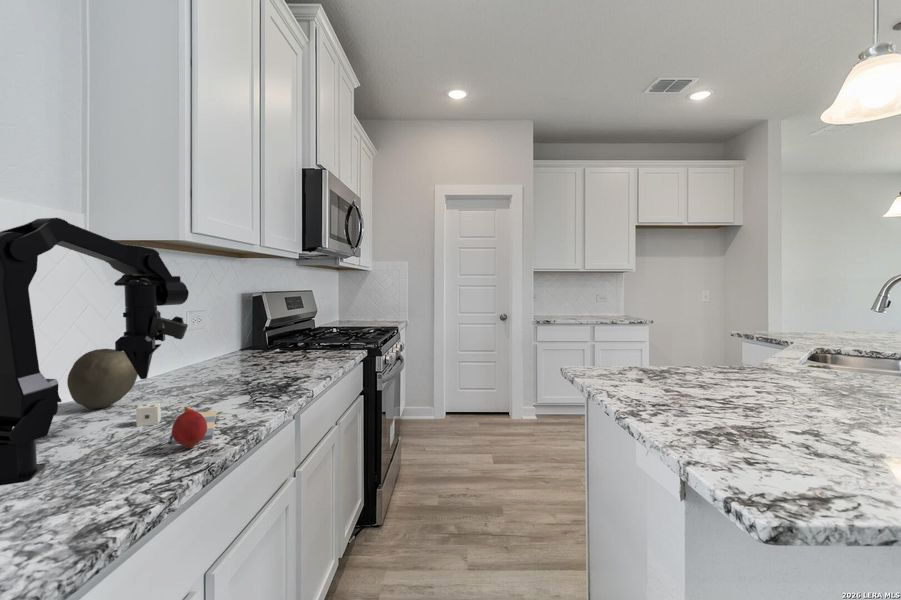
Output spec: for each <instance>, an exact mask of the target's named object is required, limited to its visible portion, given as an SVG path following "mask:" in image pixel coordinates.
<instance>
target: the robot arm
mask: <svg viewBox="0 0 901 600" xmlns="http://www.w3.org/2000/svg"><path fill="white" fill-rule="evenodd" d="M56 246H59V247H62V248H65V249H67V250H70V251H74V252H77V253H80V254H82V255H86V256H89V257H92V258H95V259H98V260H100V261H103V262H106V263H107V264H109V266H110V267H111V268H112V269H114V270H116V271H117V272H119V273H121V274H122V276H121V277H120V278H119V279H117V280H116V281H115V282H114V283H113V284H114V285H115V286H117V287H124V308H125V309H124V312H122V318H125V331H124V332H123V335H122V336H120V337H119V338H118V339H117V340H116V341H114V344H115V345H114V346H115V348H114V349H115V351H122V352H124V353H125V354H126V356H127V357H128V359H129V360H130V362H131V364H132V365H133V367H134V369H135V370H136V372H137V374H138V376H137V377H139V379H140V380H145V379H146V380H147V378H148V375H149V371H150V366H151V362H152V358H153V355H154V352H155V351H156V350H158V349H159V348H160V347H161V346H162V344H160V343H158V344H156V341H160V342H164V341H166V336H168V337H173V339H177V340H183V339H184V337H185V334H186V332H187V330H188V326H189V324H188V323H185V322H184V317H180V316H174V317H173V318H172V319H170V318H165V317H161V316H162V315H161V312H160V310H158V307H159V306H160V307H161V306H163V307H164V306H178V305H179V306H180V305H183V304H184V303H186V302H187V300H188V298H189V289H188V287H187V286H186V283H184V282H183V281H182V280H181V276H179V275H172V274H171V272H170V270H169V269H168V267H167V265H166V264H165V262H164V261H163V260H162V258H161V256H160V253H159V252H158V251H157V250H156V249H154V248H150V247H145V246H141V245H132V244H126V243H121V242H118V241H115V240H113V239H111V238H109V237H106V236H103V235H100V234H99V233H98V234H97V233H95V232H93V231H90V230H87V229H85V228H82V227H80V226H77V225H75V224H72V223H69V222H68V221H67V220H65V219H63V218H61V217H48V218H47V217H45V218H44V217H43V218H36V219H34V220H32V221H30V222H27V223H25V224H22V225H19V226H15V227H11V228H8V229H4V230H1V231H0V485H2V484H8V483H16V482H22V481H29V480H32V479H33V478H35V477H36V475H38V473H40V472H41V471H42V470H43V469H44V468H45V467H46V463H45V462H43V463H42V462H41V463H38V460H37V459H38V458H37V456H38V455H37V440H40V439H41V438H45V437H47V436H48V435H49V431H50V428H51V425H52V421H53V420H54V416H56V415H57V413H58V410H59V403H62V399H61V397H60V394H59V381H58V380H57V379H56V378H46V377H45V376H44V374H42V372H41V371H40V365H39V359H38V358H39V357H38V350H37V343H36V335H35V329H34V328H35V326H34V319H33V313H32V305H31V299H30V298H31V297H30V291H29V287H30V286H31V285H30V284H31V283H32V280H33V278H34V276H35V275H36V273H37V271H38V258H39V256H40V255H42V254H44V253H47V252H49V251H51V250H52V249H53V248H54V247H56Z"/></svg>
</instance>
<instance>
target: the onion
mask: <svg viewBox="0 0 901 600" xmlns="http://www.w3.org/2000/svg"><path fill="white" fill-rule="evenodd" d="M206 432H207V422H206V420H205V418H204V417H203V416H202V415H201V414H200V412H198V411H196V410H194V408H192V407H190V406H185V408H184V412H182V413H181V414H180V415H179V416H177V418H176V419H175V420H174V422H173V424H172V429H171V434H172V435H171V436H172V438H174V440H175V441H177V442H178V444H179V445H181V446H183V447H184V448H186V449H189V450H190V449H192V448H194V447H195V446H196V445H198V444H199V443H200V442H201V441H203V440H202V439H203V438H204V436H205V434H206Z"/></svg>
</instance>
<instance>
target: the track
mask: <svg viewBox="0 0 901 600" xmlns="http://www.w3.org/2000/svg"><path fill="white" fill-rule="evenodd" d="M199 413H200V414H201V415H202V416H203V417H204V418H205V420H206V422H207V432H206V434H205V436H204V438H203V439H202V440H201V441H209V440H212V439H213V436H214V431H215V423H216V418H217V410H211V411H201V412H199ZM176 444H178V445H179V443H178V442H177V441H175V440H174V438H173V437H172V439H171V445H176Z"/></svg>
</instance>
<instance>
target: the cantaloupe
mask: <svg viewBox="0 0 901 600" xmlns="http://www.w3.org/2000/svg"><path fill="white" fill-rule="evenodd" d="M138 377H139V376H138V374H137V372H136V370H135V369H134V367H133V365H132V364H131V362H130V360H129V359H128V357H127V356H126V354H125V352H123V351H115V348H114V349H112V348H99V349H93V350H91V351H88V352H85V353H84V354H83V355H81V356H79V358H78V359H76V361H74V363H73V365H72V367H71V369H70V371H69V373H68V375H67V382H66V383H67V389H68V391H69V394H70V397H71V398H72V400H73V401H74V402H75V403H77V405H80V406H82V407H85V408H88V409H93V410H94V409H96V410H97V409H101V408H105V407H108V406H112V405H113V404H115V403H117V402H120V401H121V399H122V398H124V397H125V396H126V395H127V394H128V393H129V392H130V391H131V390H132V389H133V387H134V385H135V384H136V381H137V378H138Z"/></svg>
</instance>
